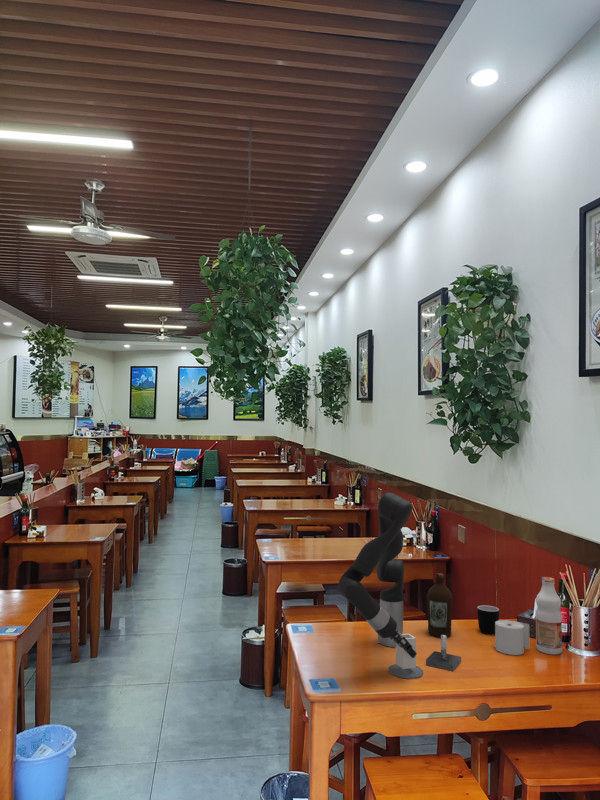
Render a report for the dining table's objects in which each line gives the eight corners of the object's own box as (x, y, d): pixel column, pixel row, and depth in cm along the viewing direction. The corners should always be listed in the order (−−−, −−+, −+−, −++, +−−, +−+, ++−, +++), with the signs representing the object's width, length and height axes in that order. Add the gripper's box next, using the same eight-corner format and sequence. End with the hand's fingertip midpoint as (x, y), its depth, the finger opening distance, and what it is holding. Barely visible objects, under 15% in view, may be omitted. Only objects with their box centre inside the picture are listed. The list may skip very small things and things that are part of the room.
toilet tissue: (489, 649, 222) (489, 623, 223) (506, 643, 230) (505, 617, 231) (515, 657, 214) (515, 630, 215) (531, 650, 222) (530, 624, 223)
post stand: (425, 665, 205) (426, 636, 206) (434, 656, 213) (434, 629, 214) (453, 671, 200) (453, 642, 201) (461, 662, 208) (461, 634, 209)
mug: (502, 635, 239) (502, 611, 239) (482, 635, 238) (482, 611, 239) (491, 626, 251) (491, 603, 251) (471, 626, 250) (471, 603, 251)
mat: (383, 673, 196) (383, 671, 196) (395, 662, 207) (395, 660, 207) (416, 681, 190) (416, 679, 190) (427, 669, 200) (427, 668, 200)
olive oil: (428, 628, 246) (429, 570, 248) (454, 632, 242) (454, 572, 244) (424, 636, 236) (425, 575, 238) (450, 640, 232) (451, 578, 234)
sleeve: (403, 669, 195) (403, 639, 196) (396, 663, 200) (396, 634, 201) (415, 667, 197) (416, 638, 198) (408, 662, 202) (408, 633, 202)
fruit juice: (531, 646, 227) (531, 575, 229) (554, 646, 227) (554, 575, 229) (542, 655, 218) (542, 580, 220) (566, 655, 218) (565, 581, 220)
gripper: (397, 618, 191) (428, 651, 194) (378, 606, 204) (407, 637, 207) (383, 636, 189) (414, 669, 192) (364, 622, 202) (394, 654, 205)
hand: (410, 652), depth 199 cm, fingers closed on sleeve, 5 cm apart
